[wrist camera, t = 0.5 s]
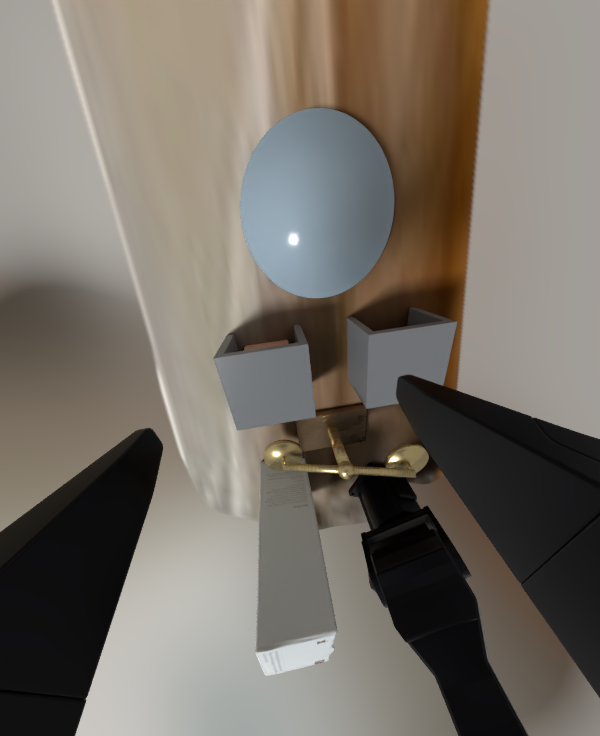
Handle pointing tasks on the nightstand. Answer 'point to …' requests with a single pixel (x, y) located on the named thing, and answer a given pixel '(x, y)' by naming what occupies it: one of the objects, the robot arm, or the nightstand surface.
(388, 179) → the dish
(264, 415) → the covering hood
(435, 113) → the nightstand surface
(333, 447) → the balance
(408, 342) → the empty hood
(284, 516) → the skincare box
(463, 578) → the robot arm
